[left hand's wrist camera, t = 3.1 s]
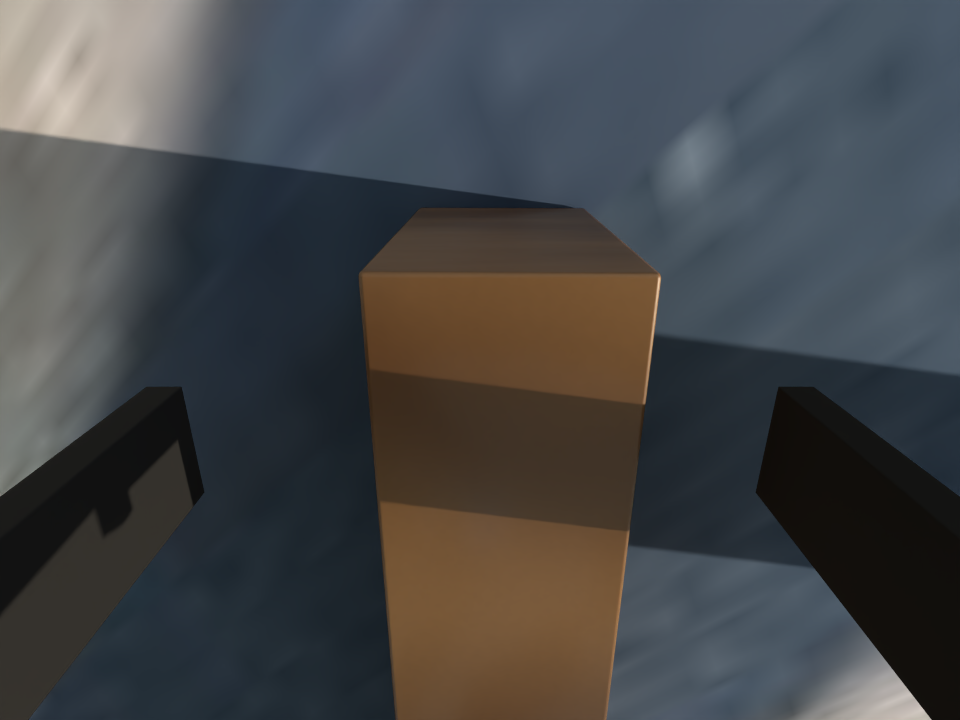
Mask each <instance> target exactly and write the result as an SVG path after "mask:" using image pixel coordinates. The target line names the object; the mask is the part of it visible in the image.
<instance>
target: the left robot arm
mask: <svg viewBox="0 0 960 720" xmlns="http://www.w3.org/2000/svg"><path fill="white" fill-rule="evenodd" d="M203 493H204V489H203V484H202V480H201V475H200V470H199V466H198V461H197V456H196V452H195V447H194V443H193V438H192V433H191V429H190V424H189V419H188V415H187V410H186V406H185V401H184V396H183V392H182V387H146V388H144V389H143V390H142V391H140V392H139V393H138V394H136V395H135V396H134V397H132V398H131V399H130V400H129V401H127V402H126V403H125V404H123V405H122V406H121V407H119V408H118V409H117V410H115V411H114V412H113V413H111V414H110V415H109V416H107V417H106V418H105V419H103V420H102V421H101V422H99V423H98V424H97V425H95V426H94V427H93V428H91V429H90V430H89V431H87V432H86V433H85V434H83V435H82V436H81V437H79V438H78V439H77V440H75V441H74V442H73V443H71V444H70V445H69V446H67V447H66V448H65V449H63V450H62V451H61V452H59V453H58V454H57V455H55V456H54V457H53V458H51V459H50V460H49V461H47V462H46V463H45V464H43V465H42V466H41V467H39V468H38V469H37V470H35V471H34V472H33V473H31V474H30V475H29V476H27V477H26V478H25V479H23V480H22V481H21V482H19V483H18V484H17V485H15V486H14V487H13V488H11V489H10V490H9V491H7V492H6V493H5V494H3V495H2V496H1V497H0V720H28V719H29V718H30V717H31V716H32V714H33V713H34V712H35V710H36V709H37V708H38V706H39V705H40V704H41V703H42V701H43V700H44V699H45V697H46V696H47V695H48V694H49V692H50V691H51V690H52V688H53V687H54V686H55V685H56V683H57V682H58V681H59V679H60V678H61V677H62V676H63V674H64V673H65V672H66V670H67V669H68V668H69V666H70V665H71V664H72V663H73V661H74V660H75V659H76V657H77V656H78V655H79V654H80V652H81V651H82V650H83V648H84V647H85V646H86V645H87V643H88V642H89V641H90V639H91V638H92V637H93V635H94V634H95V633H96V632H97V630H98V629H99V628H100V626H101V625H102V624H103V623H104V621H105V620H106V619H107V617H108V616H109V615H110V614H111V612H112V611H113V610H114V608H115V607H116V606H117V604H118V603H119V602H120V601H121V599H122V598H123V597H124V595H125V594H126V593H127V592H128V590H129V589H130V588H131V586H132V585H133V584H134V583H135V581H136V580H137V579H138V577H139V576H140V575H141V573H142V572H143V571H144V570H145V568H146V567H147V566H148V564H149V563H150V562H151V561H152V559H153V558H154V557H155V555H156V554H157V553H158V552H159V550H160V549H161V548H162V546H163V545H164V544H165V543H166V541H167V540H168V539H169V537H170V536H171V535H172V533H173V532H174V531H175V530H176V528H177V527H178V526H179V524H180V523H181V522H182V521H183V519H184V518H185V517H186V515H187V514H188V513H189V512H190V510H191V509H192V508H193V506H194V505H195V504H196V502H197V501H198V500H199V499H200V497H201V496H202V495H203ZM756 493H757V495H758V496H759V497H760V499H761V500H762V501H763V502H764V504H765V505H766V506H767V508H768V509H769V510H770V512H771V513H772V514H773V515H774V517H775V518H776V519H777V521H778V522H779V523H780V524H781V526H782V527H783V528H784V530H785V531H786V532H787V533H788V535H789V536H790V537H791V539H792V540H793V541H794V543H795V544H796V545H797V546H798V548H799V549H800V550H801V552H802V553H803V554H804V555H805V557H806V558H807V559H808V561H809V562H810V563H811V564H812V566H813V567H814V568H815V570H816V571H817V572H818V573H819V575H820V576H821V577H822V579H823V580H824V581H825V583H826V584H827V585H828V586H829V588H830V589H831V590H832V592H833V593H834V594H835V595H836V597H837V598H838V599H839V601H840V602H841V603H842V604H843V606H844V607H845V608H846V610H847V611H848V612H849V614H850V615H851V616H852V617H853V619H854V620H855V621H856V623H857V624H858V625H859V626H860V628H861V629H862V630H863V632H864V633H865V634H866V635H867V637H868V638H869V639H870V641H871V642H872V643H873V645H874V646H875V647H876V648H877V650H878V651H879V652H880V654H881V655H882V656H883V657H884V659H885V660H886V661H887V663H888V664H889V665H890V666H891V668H892V669H893V670H894V672H895V673H896V674H897V676H898V677H899V678H900V679H901V681H902V682H903V683H904V685H905V686H906V687H907V688H908V690H909V691H910V692H911V694H912V695H913V696H914V697H915V699H916V700H917V701H918V703H919V704H920V705H921V707H922V708H923V709H924V710H925V712H926V713H927V714H928V716H929V717H930V718H931V719H932V720H960V497H959V496H958V495H957V494H955V493H954V492H953V491H951V490H950V489H949V488H947V487H946V486H945V485H943V484H942V483H941V482H939V481H938V480H937V479H935V478H934V477H933V476H931V475H930V474H929V473H927V472H926V471H925V470H923V469H922V468H921V467H919V466H918V465H917V464H915V463H914V462H913V461H911V460H910V459H909V458H907V457H906V456H905V455H903V454H902V453H901V452H899V451H898V450H897V449H895V448H894V447H893V446H891V445H890V444H889V443H887V442H886V441H885V440H883V439H882V438H881V437H879V436H878V435H877V434H875V433H874V432H873V431H871V430H870V429H869V428H867V427H866V426H865V425H863V424H862V423H861V422H859V421H858V420H857V419H855V418H854V417H853V416H851V415H850V414H849V413H847V412H846V411H845V410H843V409H842V408H841V407H839V406H838V405H837V404H835V403H834V402H833V401H831V400H830V399H829V398H827V397H826V396H825V395H824V394H822V393H821V392H820V391H818V390H817V389H816V388H814V387H778V392H777V396H776V401H775V406H774V410H773V415H772V419H771V424H770V429H769V433H768V438H767V443H766V447H765V452H764V456H763V461H762V466H761V470H760V475H759V480H758V484H757V489H756Z"/></svg>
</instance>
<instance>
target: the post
mask: <svg viewBox="0 0 960 720" xmlns="http://www.w3.org/2000/svg"><path fill="white" fill-rule="evenodd" d="M660 282H661V276H660V274H659V273H658V272H657V271H656V270H655V269H654V268H652V267H651V266H650V265H649V264H648V263H647V262H645V261H644V260H643V259H642V258H641V257H640V256H638V255H637V254H636V253H635V252H634V251H633V250H631V249H630V248H629V247H628V246H627V245H626V244H624V243H623V242H622V241H621V240H620V239H619V238H617V237H616V236H615V235H614V234H613V233H612V232H610V231H609V230H608V229H607V228H606V227H605V226H603V225H602V224H601V223H600V222H599V221H598V220H596V219H595V218H594V217H593V216H592V215H591V214H589V213H588V212H587V211H586V210H585V209H583V208H420V209H419V210H418V211H417V212H416V213H415V214H414V215H413V216H412V217H411V218H410V219H409V220H408V221H407V223H406V224H405V225H404V226H403V227H402V228H401V229H400V230H399V231H398V232H397V233H396V234H395V235H394V236H393V237H392V239H391V240H390V241H389V242H388V243H387V244H386V245H385V246H384V247H383V248H382V249H381V250H380V251H379V252H378V253H377V255H376V256H375V257H374V258H373V259H372V260H371V261H370V262H369V263H368V264H367V265H366V266H365V267H364V268H363V270H362V271H361V272H360V273H359V288H360V300H361V312H362V324H363V336H364V348H365V360H366V372H367V384H368V396H369V408H370V420H371V432H372V444H373V456H374V468H375V480H376V492H377V504H378V516H379V528H380V540H381V552H382V564H383V576H384V588H385V600H386V612H387V624H388V636H389V648H390V660H391V672H392V684H393V696H394V708H395V720H606V717H607V709H608V701H609V693H610V685H611V676H612V668H613V660H614V652H615V644H616V636H617V628H618V620H619V612H620V604H621V596H622V588H623V580H624V572H625V564H626V556H627V548H628V540H629V532H630V524H631V516H632V508H633V500H634V492H635V484H636V475H637V467H638V459H639V451H640V443H641V435H642V427H643V419H644V411H645V403H646V395H647V387H648V379H649V371H650V363H651V355H652V347H653V339H654V331H655V323H656V315H657V307H658V299H659V291H660Z"/></svg>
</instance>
